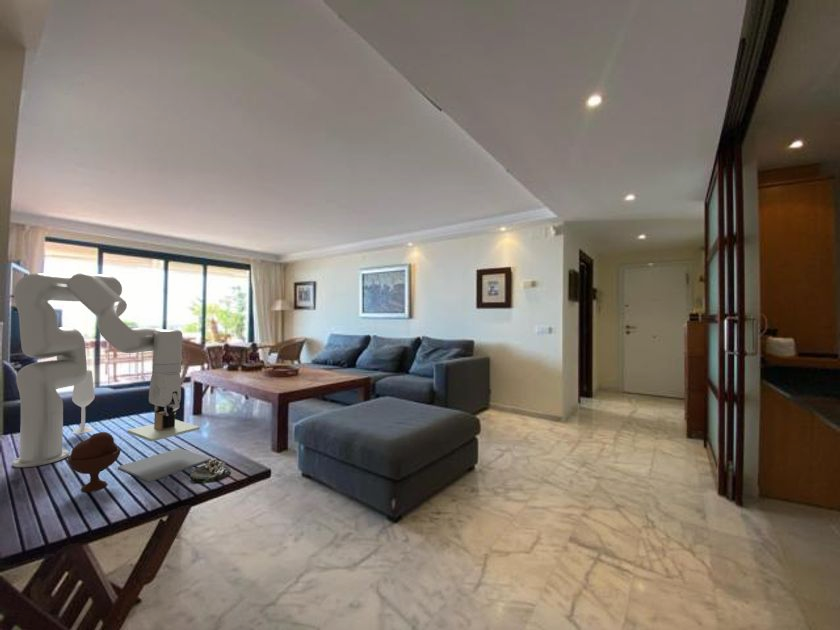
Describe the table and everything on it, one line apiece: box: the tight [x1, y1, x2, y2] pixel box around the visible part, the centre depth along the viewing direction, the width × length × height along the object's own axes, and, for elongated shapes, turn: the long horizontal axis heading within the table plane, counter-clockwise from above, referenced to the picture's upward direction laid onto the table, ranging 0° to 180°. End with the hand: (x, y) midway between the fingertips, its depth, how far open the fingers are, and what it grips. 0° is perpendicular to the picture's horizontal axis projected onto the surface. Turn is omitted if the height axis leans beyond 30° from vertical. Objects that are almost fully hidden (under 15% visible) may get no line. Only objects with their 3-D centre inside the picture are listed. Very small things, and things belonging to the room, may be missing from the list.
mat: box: [117, 447, 212, 483], centre depth 116 cm, size 18×18×1 cm
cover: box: [126, 411, 200, 443], centre depth 116 cm, size 14×14×6 cm
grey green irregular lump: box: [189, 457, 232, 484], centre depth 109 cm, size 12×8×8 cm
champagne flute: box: [71, 369, 96, 435], centre depth 146 cm, size 7×7×24 cm
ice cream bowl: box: [66, 431, 122, 493], centre depth 100 cm, size 11×11×15 cm
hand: (164, 425), depth 116 cm, fingers closed on cover, 4 cm apart
